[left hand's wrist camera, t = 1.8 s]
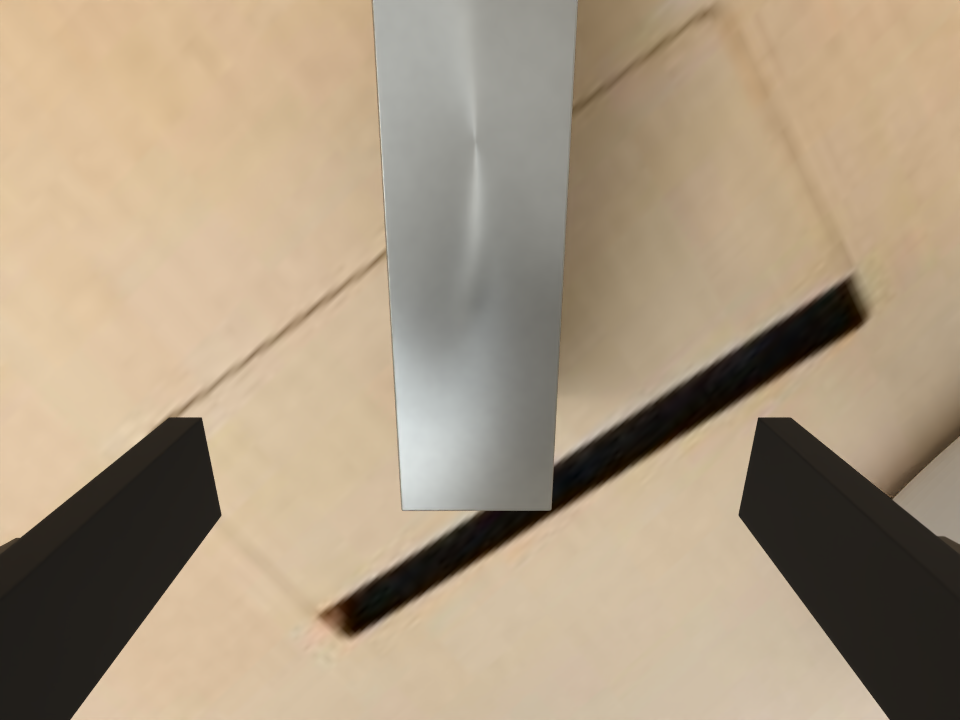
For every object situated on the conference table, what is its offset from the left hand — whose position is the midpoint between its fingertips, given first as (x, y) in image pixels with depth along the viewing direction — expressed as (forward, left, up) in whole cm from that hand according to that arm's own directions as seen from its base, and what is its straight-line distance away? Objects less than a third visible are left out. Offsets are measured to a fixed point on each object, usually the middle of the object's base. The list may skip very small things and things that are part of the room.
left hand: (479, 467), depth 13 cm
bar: (+7, 0, -12) cm, 14 cm away
